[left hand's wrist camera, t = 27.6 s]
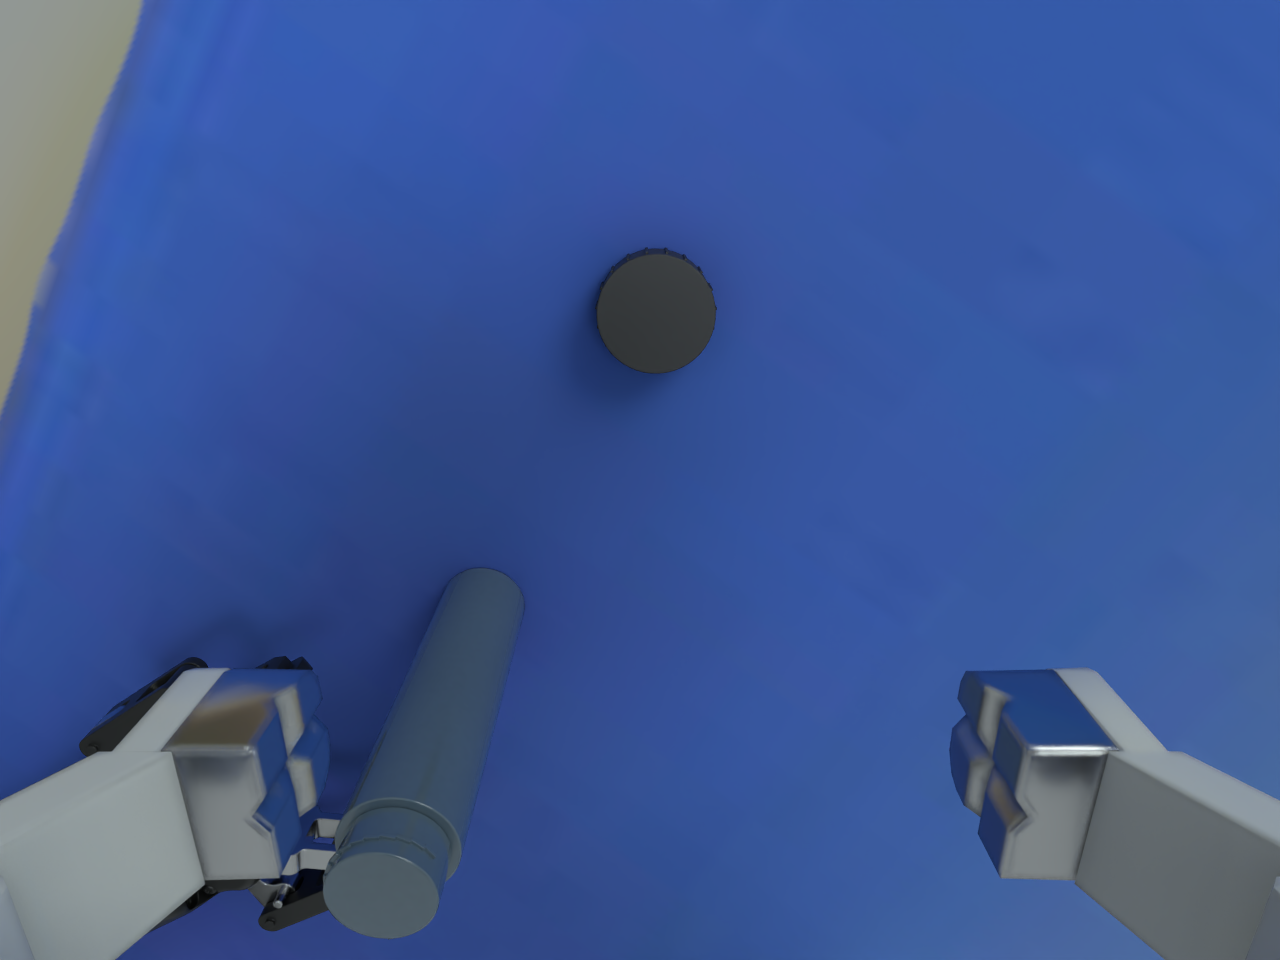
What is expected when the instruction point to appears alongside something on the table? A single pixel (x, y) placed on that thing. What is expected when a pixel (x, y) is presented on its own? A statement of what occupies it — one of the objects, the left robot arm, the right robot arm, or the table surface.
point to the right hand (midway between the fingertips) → (359, 739)
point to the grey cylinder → (426, 764)
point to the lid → (655, 311)
